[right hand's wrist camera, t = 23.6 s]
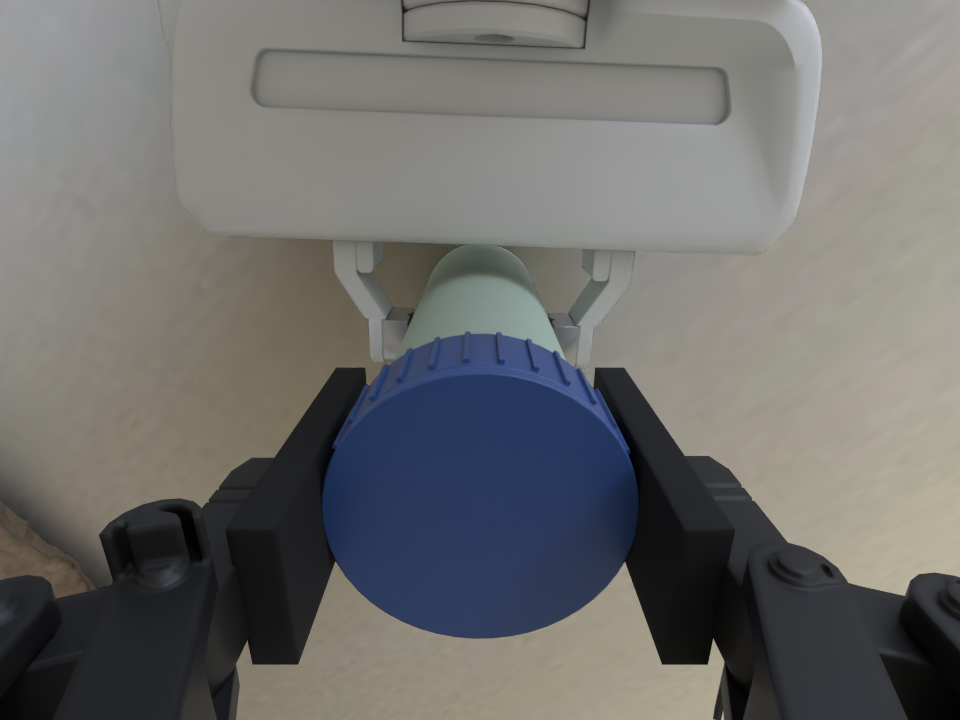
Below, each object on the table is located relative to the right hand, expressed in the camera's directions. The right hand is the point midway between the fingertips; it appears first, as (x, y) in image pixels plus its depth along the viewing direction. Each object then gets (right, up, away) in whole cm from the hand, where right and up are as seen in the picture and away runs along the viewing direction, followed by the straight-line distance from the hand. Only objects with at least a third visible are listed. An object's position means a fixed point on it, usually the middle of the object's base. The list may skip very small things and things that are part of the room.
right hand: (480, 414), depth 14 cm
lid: (0, -2, -4) cm, 4 cm away
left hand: (0, +1, +6) cm, 7 cm away
